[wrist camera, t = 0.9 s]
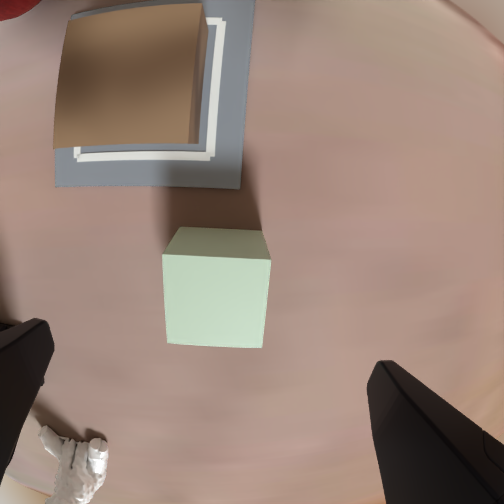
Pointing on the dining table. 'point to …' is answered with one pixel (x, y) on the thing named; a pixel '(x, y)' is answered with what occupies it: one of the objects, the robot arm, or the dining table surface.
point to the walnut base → (132, 77)
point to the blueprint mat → (211, 119)
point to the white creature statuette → (75, 467)
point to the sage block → (216, 287)
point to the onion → (15, 8)
